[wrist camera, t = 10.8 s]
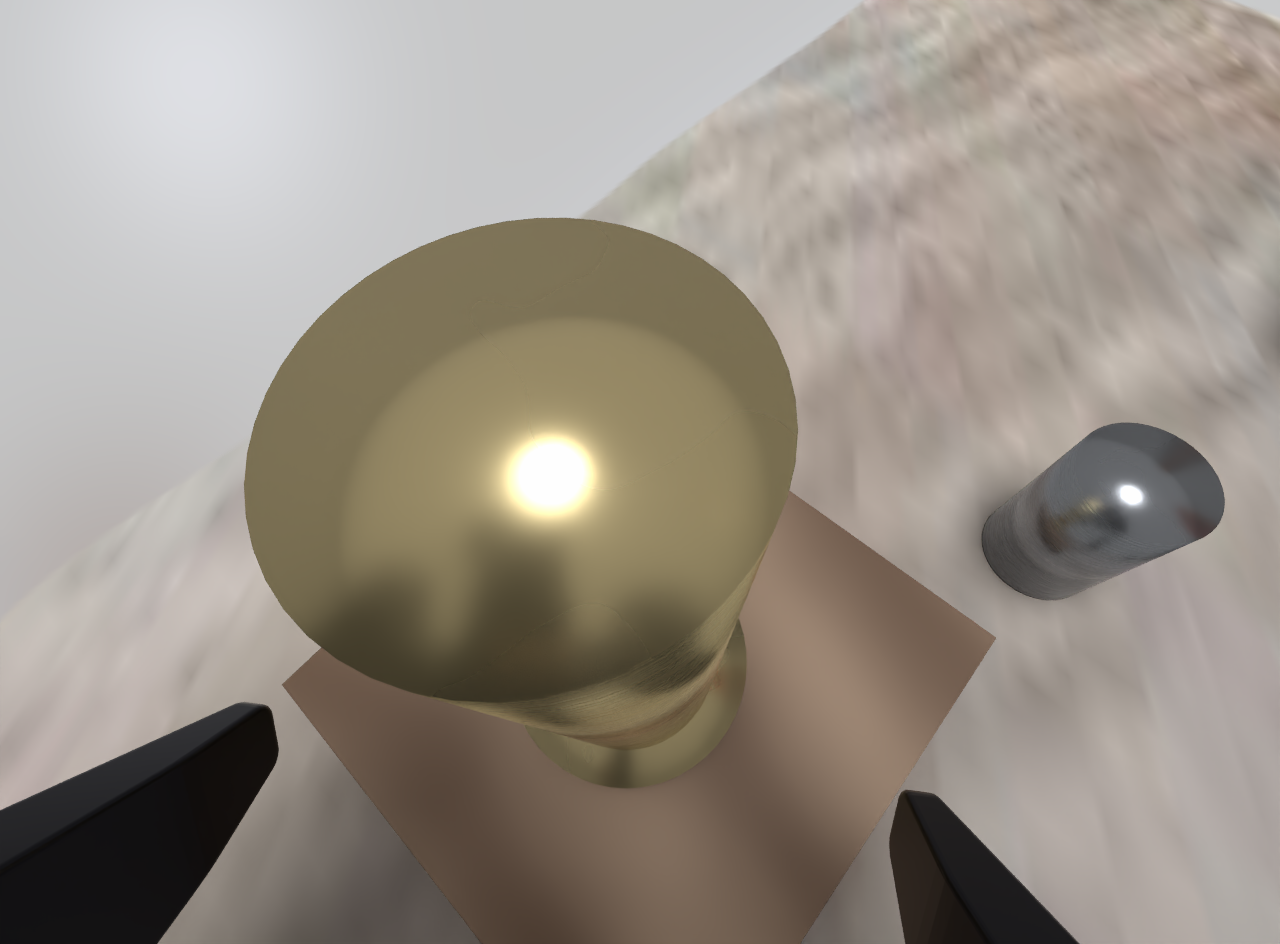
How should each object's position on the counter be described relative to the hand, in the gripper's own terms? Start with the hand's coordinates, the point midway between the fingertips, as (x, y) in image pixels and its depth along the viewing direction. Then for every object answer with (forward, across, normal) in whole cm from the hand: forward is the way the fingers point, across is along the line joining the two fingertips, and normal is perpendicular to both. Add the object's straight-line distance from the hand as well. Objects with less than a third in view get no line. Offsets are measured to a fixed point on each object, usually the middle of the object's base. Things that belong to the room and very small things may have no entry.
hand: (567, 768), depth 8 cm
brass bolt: (+7, 0, +4) cm, 8 cm away
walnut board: (+8, 0, +5) cm, 10 cm away
